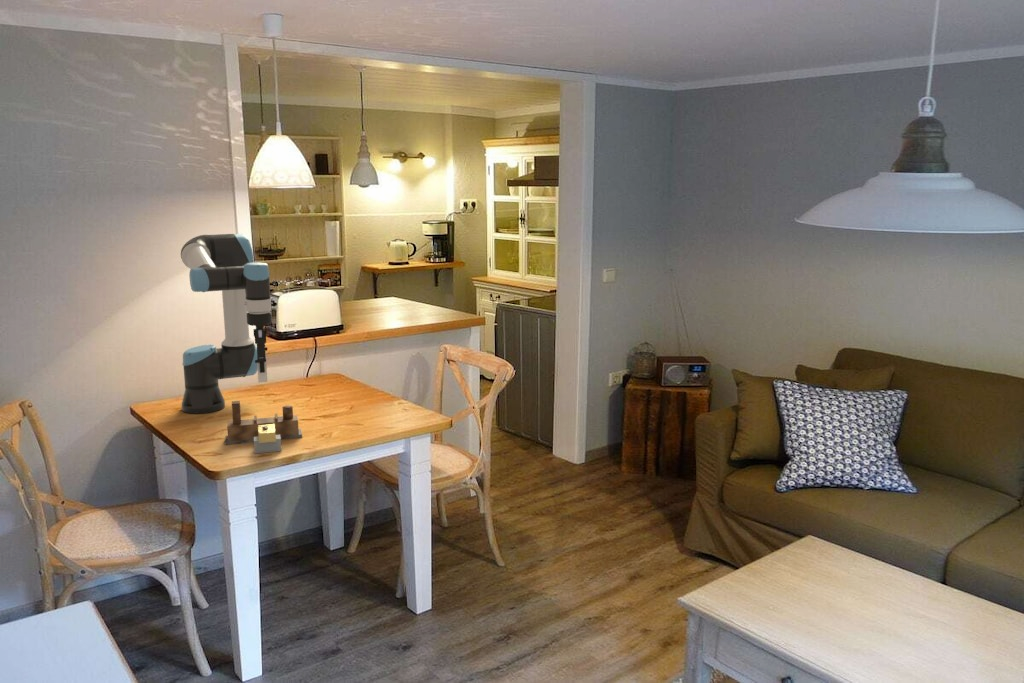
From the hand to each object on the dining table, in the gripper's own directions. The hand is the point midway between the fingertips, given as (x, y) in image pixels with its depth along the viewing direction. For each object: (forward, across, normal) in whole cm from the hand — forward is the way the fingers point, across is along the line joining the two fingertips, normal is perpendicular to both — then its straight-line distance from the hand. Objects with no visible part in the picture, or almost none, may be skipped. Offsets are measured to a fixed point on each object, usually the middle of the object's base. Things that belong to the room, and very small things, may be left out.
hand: (262, 376), depth 247 cm
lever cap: (+17, +11, 0) cm, 20 cm away
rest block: (+21, +11, 0) cm, 24 cm away
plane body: (+22, -1, -1) cm, 22 cm away
